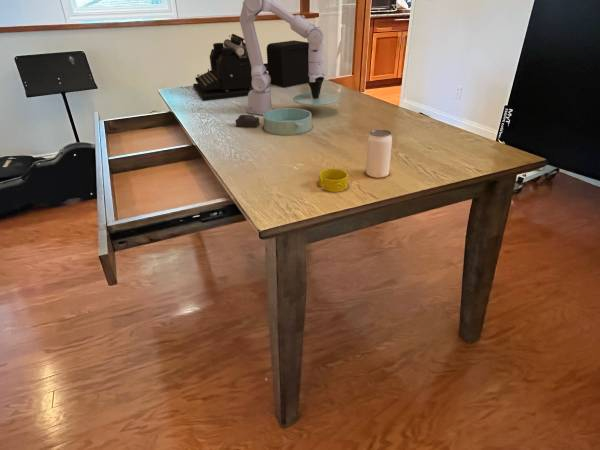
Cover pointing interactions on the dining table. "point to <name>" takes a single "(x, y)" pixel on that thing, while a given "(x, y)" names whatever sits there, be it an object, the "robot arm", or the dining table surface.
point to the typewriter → (226, 71)
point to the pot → (287, 121)
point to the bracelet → (333, 180)
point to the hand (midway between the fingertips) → (316, 96)
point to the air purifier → (288, 63)
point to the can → (379, 153)
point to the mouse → (247, 121)
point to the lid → (316, 99)
